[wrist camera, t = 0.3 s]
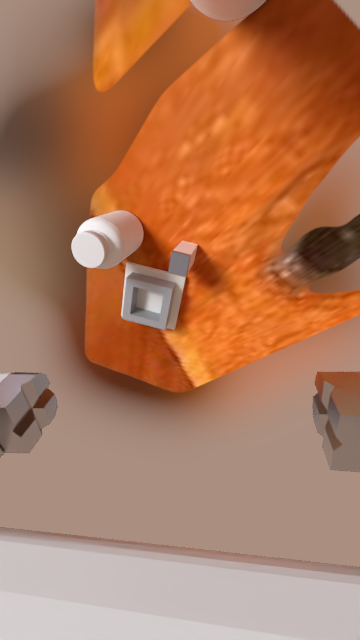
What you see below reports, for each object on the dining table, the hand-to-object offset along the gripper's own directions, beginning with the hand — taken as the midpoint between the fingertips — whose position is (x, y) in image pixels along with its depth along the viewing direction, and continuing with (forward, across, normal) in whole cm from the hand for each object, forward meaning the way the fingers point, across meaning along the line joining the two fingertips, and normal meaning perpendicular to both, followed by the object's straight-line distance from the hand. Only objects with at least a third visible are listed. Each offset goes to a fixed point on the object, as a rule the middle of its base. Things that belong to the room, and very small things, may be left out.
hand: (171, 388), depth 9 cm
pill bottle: (+48, +18, +3) cm, 51 cm away
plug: (+47, +6, +7) cm, 48 cm away
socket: (+47, +14, +16) cm, 52 cm away
